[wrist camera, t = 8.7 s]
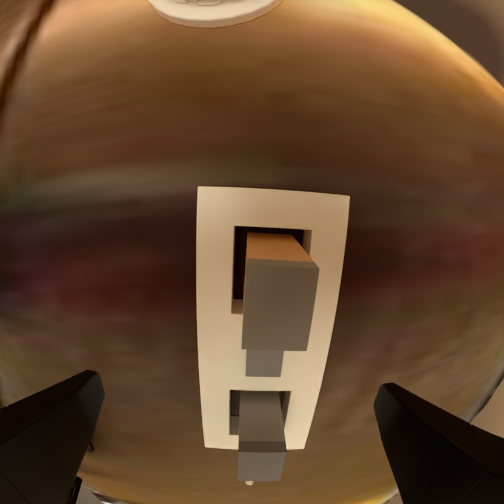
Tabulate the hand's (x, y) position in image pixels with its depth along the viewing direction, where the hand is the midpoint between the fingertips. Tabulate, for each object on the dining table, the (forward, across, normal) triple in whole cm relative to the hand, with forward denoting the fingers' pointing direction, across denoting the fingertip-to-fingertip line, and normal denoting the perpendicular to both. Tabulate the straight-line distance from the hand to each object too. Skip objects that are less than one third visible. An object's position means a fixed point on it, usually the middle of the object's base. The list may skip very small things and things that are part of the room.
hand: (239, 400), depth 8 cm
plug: (+13, -2, -1) cm, 13 cm away
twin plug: (+13, -2, +11) cm, 17 cm away
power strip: (+13, -2, +10) cm, 16 cm away
